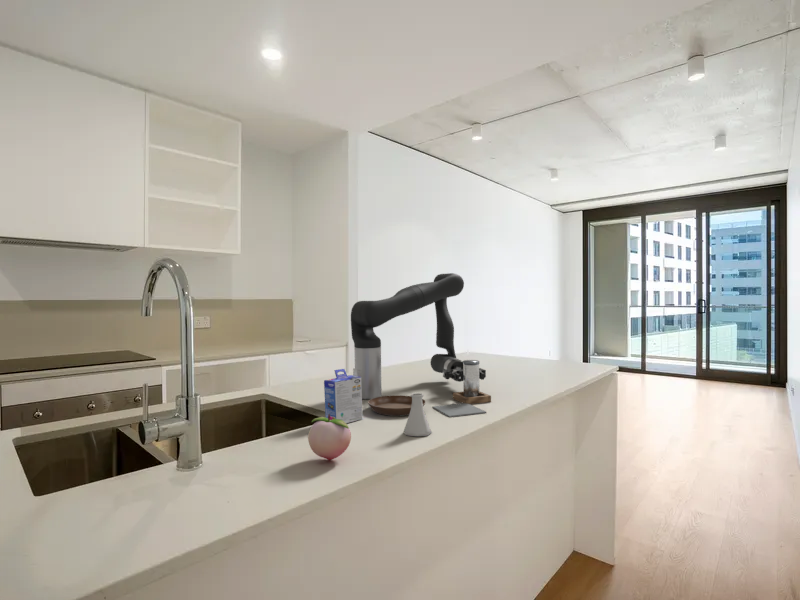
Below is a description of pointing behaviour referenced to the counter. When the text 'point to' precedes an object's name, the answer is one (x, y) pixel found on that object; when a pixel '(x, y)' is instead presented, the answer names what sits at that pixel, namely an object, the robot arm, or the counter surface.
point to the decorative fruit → (329, 437)
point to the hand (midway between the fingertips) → (470, 377)
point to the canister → (471, 378)
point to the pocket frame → (472, 398)
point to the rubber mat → (458, 409)
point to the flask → (417, 418)
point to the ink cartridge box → (343, 397)
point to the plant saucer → (392, 405)
